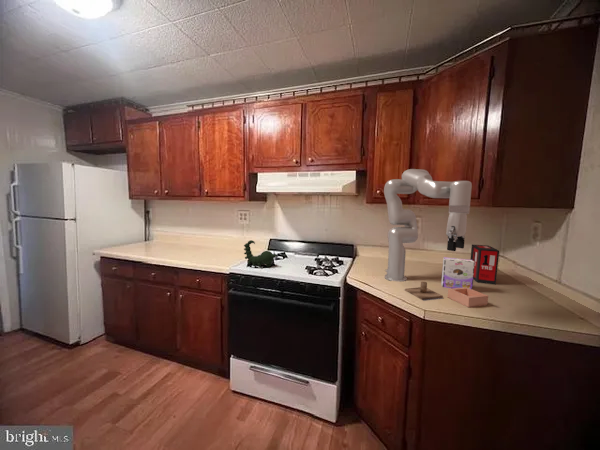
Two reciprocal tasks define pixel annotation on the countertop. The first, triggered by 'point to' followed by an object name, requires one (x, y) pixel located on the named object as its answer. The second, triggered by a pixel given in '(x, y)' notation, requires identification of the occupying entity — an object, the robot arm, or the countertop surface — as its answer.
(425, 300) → the grey flat piece
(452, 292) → the pink square tray
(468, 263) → the candy box
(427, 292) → the lid
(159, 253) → the countertop surface
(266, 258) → the toy figurine
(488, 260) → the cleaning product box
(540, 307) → the countertop surface
